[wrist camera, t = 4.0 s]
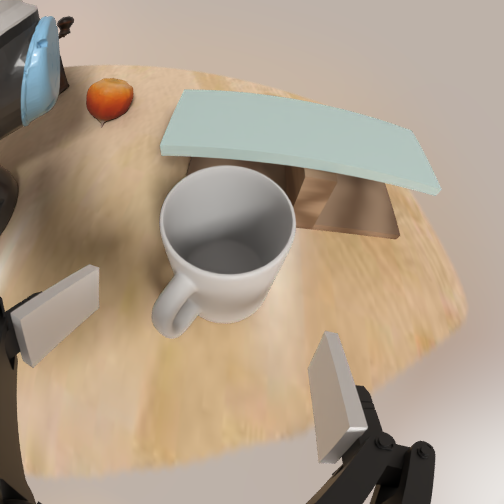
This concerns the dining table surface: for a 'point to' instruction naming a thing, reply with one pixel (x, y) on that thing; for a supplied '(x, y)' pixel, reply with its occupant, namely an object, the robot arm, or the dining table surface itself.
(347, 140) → the plank
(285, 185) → the fulcrum stand
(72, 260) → the dining table surface
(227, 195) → the mug
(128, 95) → the fruit
